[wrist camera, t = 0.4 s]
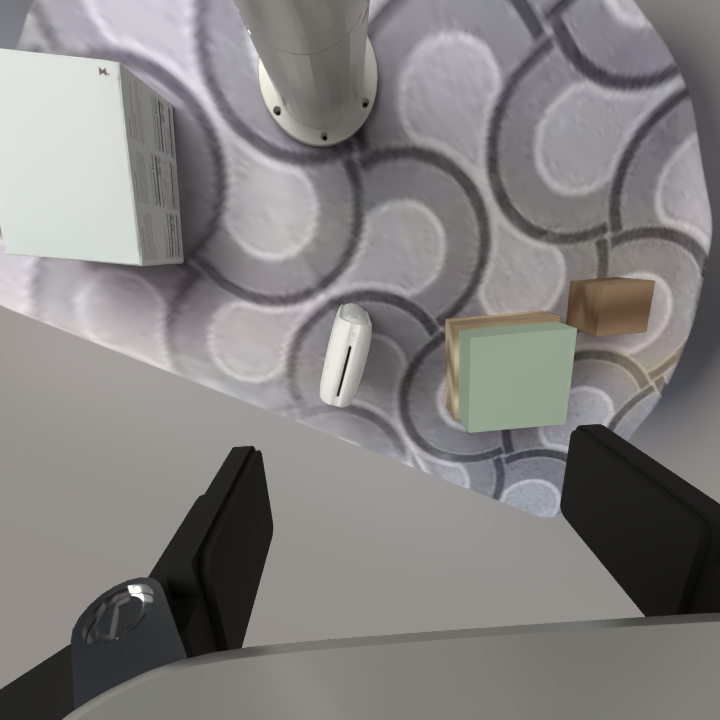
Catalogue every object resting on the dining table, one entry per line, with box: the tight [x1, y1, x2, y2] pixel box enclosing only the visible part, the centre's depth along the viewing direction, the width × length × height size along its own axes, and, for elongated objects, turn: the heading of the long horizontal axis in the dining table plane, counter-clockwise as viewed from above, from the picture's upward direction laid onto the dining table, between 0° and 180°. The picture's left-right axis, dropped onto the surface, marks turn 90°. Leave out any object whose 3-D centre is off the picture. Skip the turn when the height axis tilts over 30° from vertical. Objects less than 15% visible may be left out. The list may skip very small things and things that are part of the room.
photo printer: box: [320, 303, 372, 407], centre depth 40 cm, size 10×4×12 cm, turn 166°
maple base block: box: [445, 310, 560, 420], centre depth 45 cm, size 13×13×4 cm
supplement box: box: [0, 49, 184, 266], centre depth 35 cm, size 17×13×9 cm
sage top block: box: [458, 322, 577, 433], centre depth 41 cm, size 12×12×4 cm
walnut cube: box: [566, 277, 655, 337], centre depth 42 cm, size 6×6×6 cm
